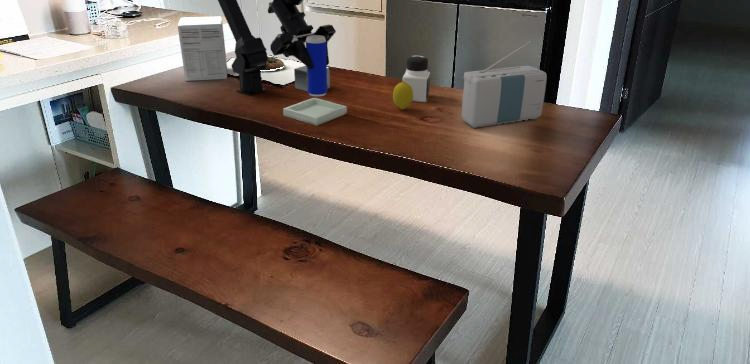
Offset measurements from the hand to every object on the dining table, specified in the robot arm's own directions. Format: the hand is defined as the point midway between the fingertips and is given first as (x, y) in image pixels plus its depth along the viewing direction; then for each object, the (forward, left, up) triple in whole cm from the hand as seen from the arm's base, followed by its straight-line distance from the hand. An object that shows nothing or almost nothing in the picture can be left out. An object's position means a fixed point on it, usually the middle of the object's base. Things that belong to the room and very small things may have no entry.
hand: (320, 66), depth 145 cm
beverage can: (-1, 0, -8) cm, 8 cm away
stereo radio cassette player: (+40, +26, -13) cm, 49 cm away
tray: (-1, -1, -13) cm, 13 cm away
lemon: (+15, +17, -13) cm, 26 cm away
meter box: (-18, +16, -13) cm, 28 cm away
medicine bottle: (+12, +28, -13) cm, 33 cm away
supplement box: (-55, +5, -13) cm, 57 cm away
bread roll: (-46, +23, -14) cm, 53 cm away
